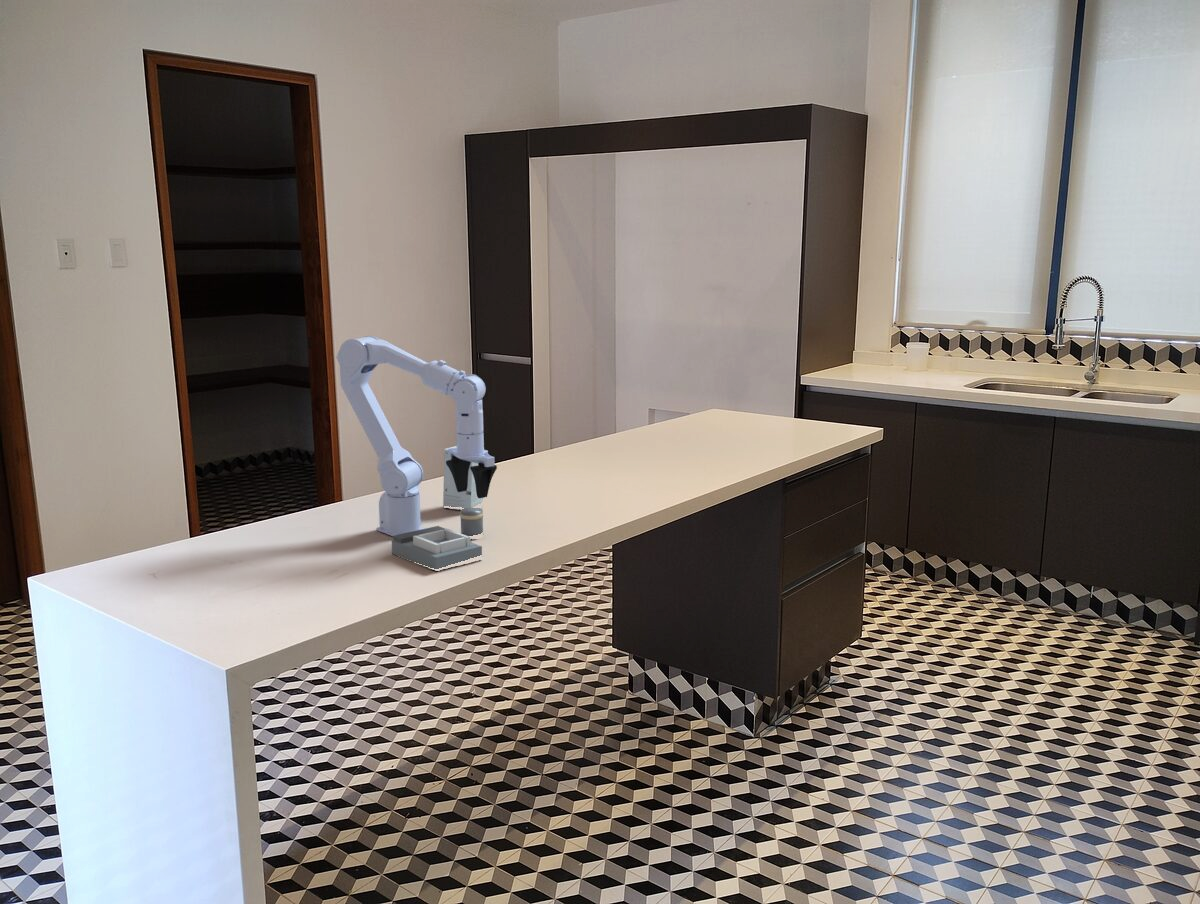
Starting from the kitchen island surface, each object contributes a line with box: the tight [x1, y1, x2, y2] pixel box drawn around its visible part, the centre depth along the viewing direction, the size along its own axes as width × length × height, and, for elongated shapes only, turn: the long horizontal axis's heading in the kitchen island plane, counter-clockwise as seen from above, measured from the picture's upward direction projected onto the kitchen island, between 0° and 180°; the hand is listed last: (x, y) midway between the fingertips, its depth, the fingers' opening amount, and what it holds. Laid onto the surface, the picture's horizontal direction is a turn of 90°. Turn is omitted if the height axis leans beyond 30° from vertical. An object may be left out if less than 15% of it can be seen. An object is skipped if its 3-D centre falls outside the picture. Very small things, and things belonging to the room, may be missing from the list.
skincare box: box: [442, 445, 484, 508], centre depth 234 cm, size 8×6×15 cm
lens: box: [459, 508, 484, 536], centre depth 211 cm, size 5×5×6 cm
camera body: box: [391, 525, 483, 569], centre depth 197 cm, size 16×11×5 cm
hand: (472, 494), depth 210 cm, fingers open, 7 cm apart
